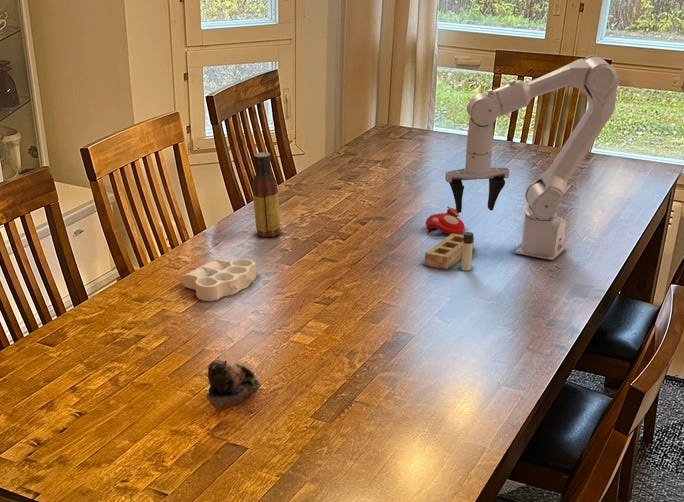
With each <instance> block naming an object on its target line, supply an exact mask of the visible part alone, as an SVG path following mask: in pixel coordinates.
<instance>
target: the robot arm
mask: <svg viewBox="0 0 684 502" xmlns="http://www.w3.org/2000/svg"><path fill="white" fill-rule="evenodd" d="M619 85H620V81H619V78H618V74H617V71H616V69H615V67H614V66H613V65H611V64H610V63H608V62H607V61H606V60H605V59H604V57H602V56H601V55H599V54H591V55H588V56H587V57H584V58H578V59H576V60H574V61H571V62H570V63H568V64H566V65H564V66H562V67H558V68H557V69H555V70H553V71H551V72H549V73H545V74H543V75H541V76H540V77H537V78H534V79H533V80H530V81H528V82H525V81H524V80H522V79H518V80H516V79H514V78H513V79H510V80H508V84H506V85H502V86H500V87H498V88H496V89H492V88H490V89H487V93H484V92H480V93H476V94H475V95H473V96H472V97H471V98H470V100H469V102H468V104H467V105H466V111H467V113H468V115H469V116H470V117H469V119H468V129H467V135H466V136H467V137H466V152H465V163H464V168H460V169H455V170H449V171H445V177H444V179H445V182H446V183H448V184H449V186H450V188H451V191H452V195H453V198H454V202H455V209H456V211H457V212H458V213H459V214H461V213H462V210H463V195H464V189H465V185H464V184H463V182H462V181H473V180H474V181H475V180H488V198H487V209H488V210H489V211H490V212H491V211H494V208H495V205H496V203H497V199H498V198H499V195H500V193H501V191H502V190H503V188H504V187H505V185H506V180H505V179H509V178H510V169H509V168H508V167H497V166H496V167H495V166H494V167H493V166H492V165H491V164H492V154H493V143H494V133H495V132H494V123H495V122H496V120H497V119H498V117H503V116H505V115H508V114H510V113H513V112H516V111H518V110H521V109H523V108H526V107H528V106H529V104H530V102H531V101H532V99H534V98H536V97H539V96H542V95H545V94H547V93H550V92H553V91H554V92H555V91H557V90H559V89H563V88H565V87H571V88H575V89H578V90H582V91H584V90H585V93H586V94H585V95H586V97H587V102H588V108H587V109H586V111H585V112H584V114H583V115H582V117H581V119H580V120H579V121H578V122H577V125H576V126H575V128H574V129H573V131H572V132H571V134H570V135H569V137H568V138H567V140H566V141H565V143H564V144H563V145H562V148H561V149H560V151H559V152H558V153H557V155H556V157H555V158H554V160H553V161H552V163H551V164H550V166H549V167H548V169H547V170H545V171H543V172H542V173H541V174H540V175H539V177H537V179H536V180H535V181H533V182H532V183H530V184H529V185H528V187H527V188H526V190H525V201H526V202H527V204H528V206H527V208H526V210H525V211H524V219H523V230H522V238H521V245H520V246H519V247H518V248H516V249H515V251H514V253H515V254H518V255H523V256H527V257H533V258H539V259H543V260H548V261H553V260H554V259H555V258H556V257H558V256H559V255H560V254H561V253H562V252H563V251H564V250H565V248H564V245H565V243H564V242H565V235H566V229H567V220H566V219H565V218H562V217H559V216H558V212H559V210H560V206H561V202H562V199H563V197H564V196H565V193H566V189H567V183H568V181H569V180H570V179H571V177H572V176H573V174H574V173H575V171H576V170H577V168H578V167H579V165H580V164H581V162H582V161H583V159H584V157H585V156H586V155H587V153H588V151H590V149H591V147H592V145H593V144H594V143H595V141H596V140H597V138H598V137H599V135H600V134H601V132H602V131H603V129H604V128H605V126H606V125H607V123H608V121H609V120H610V118H611V117H612V115H613V114H614V112H615V109H616V101H617V91H618V87H619Z"/></svg>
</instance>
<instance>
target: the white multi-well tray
mask: <svg viewBox="0 0 684 502" xmlns="http://www.w3.org/2000/svg"><path fill="white" fill-rule="evenodd" d="M256 278H257V264H256V262H255V260H253V259H249V258H236V259H233V260H227V259H226V260H225V259H223V258H214V259H212V260H210V261H209V262H207V263H205V264H203V265H201V266H200V265H199V267H196V268H195V269H193V270H191V271H189V272H187V273H185V274H183V275H181V276H180V277H179V282H180V284H181V285H182V286H183V287H185V288H188V289H190V290H194V291H195V296H196V298H197V299H199V300H201V301H203V302H205V301H206V302H212V301H213V302H214V301H218V300H219V299H221V298H223V297H228V296H233V295H235V294H238V293H239V292H240V291H242V290H243V289H247V288H249V286H250V285H251V283H252V282H255V280H256Z"/></svg>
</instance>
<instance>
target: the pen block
mask: <svg viewBox="0 0 684 502" xmlns="http://www.w3.org/2000/svg"><path fill="white" fill-rule="evenodd" d="M463 238H464V234H453V233H452V234H448V236H446V237H445V238H444V239H442V240H441V241H440V242H438V243H437V244H435V245H434V246H433V247H431V248H430V249H428V250H427V251H426V252H425V253H424V266H428V267H432V268H437V269H441V270H446V271H447V270H448V269H450V268H451V267H452V266H454V265H455V264H456V263H458V262H459V261H460V260H462V251H463ZM474 246H475V237H474V236H473V247H472V251H473V250H474Z"/></svg>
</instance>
